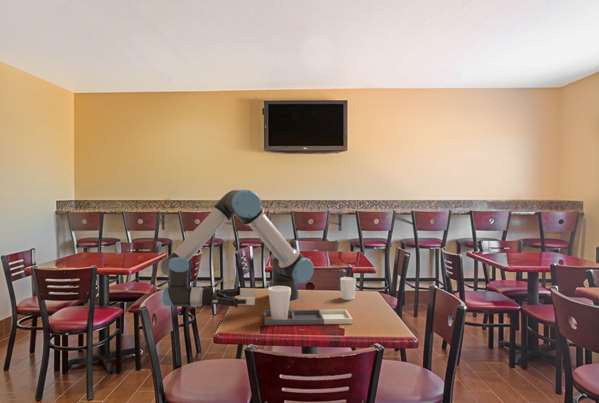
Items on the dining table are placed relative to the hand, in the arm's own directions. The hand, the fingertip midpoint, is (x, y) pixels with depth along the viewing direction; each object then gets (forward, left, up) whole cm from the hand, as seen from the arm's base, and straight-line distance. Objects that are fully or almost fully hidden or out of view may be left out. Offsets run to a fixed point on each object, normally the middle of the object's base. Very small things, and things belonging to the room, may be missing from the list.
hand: (255, 296), depth 164 cm
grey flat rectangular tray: (+14, +17, -10) cm, 24 cm away
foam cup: (+6, +8, -10) cm, 14 cm away
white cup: (+4, +56, -10) cm, 57 cm away
